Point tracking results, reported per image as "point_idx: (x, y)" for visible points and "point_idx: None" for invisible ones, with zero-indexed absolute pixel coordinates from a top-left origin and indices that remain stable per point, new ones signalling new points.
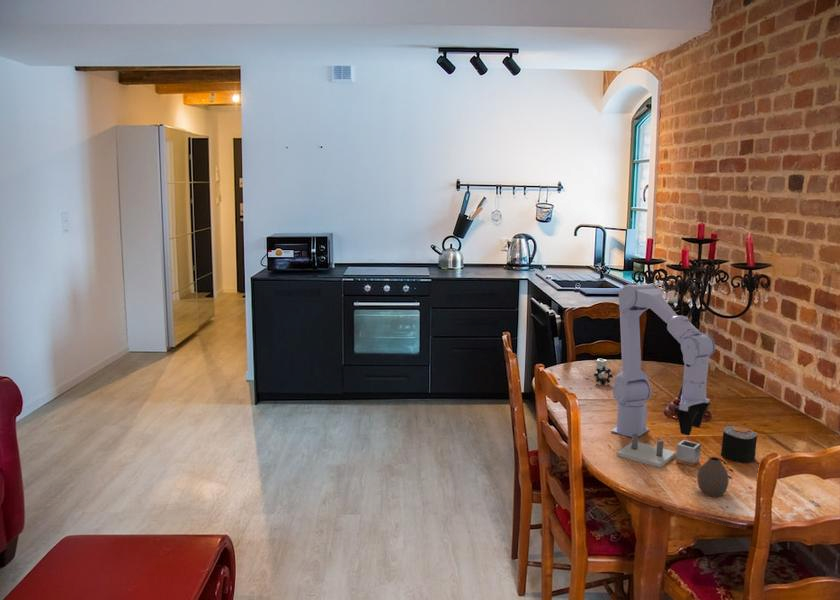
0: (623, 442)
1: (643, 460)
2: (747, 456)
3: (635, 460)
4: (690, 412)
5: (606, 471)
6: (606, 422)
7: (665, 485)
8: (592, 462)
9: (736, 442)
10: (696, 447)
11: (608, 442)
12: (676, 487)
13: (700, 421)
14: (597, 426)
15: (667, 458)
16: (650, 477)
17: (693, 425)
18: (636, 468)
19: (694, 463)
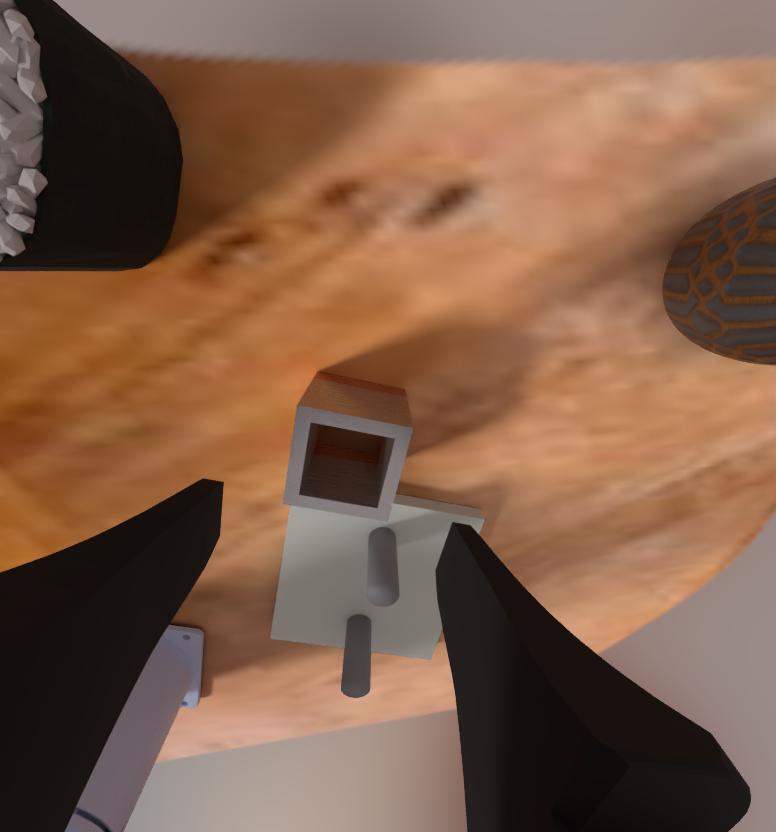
0: (277, 652)
1: None
2: (126, 65)
3: None
4: (726, 826)
5: (591, 643)
6: None
7: (665, 466)
8: None
9: (88, 136)
10: (380, 422)
11: (311, 686)
12: (675, 425)
13: (194, 511)
14: (172, 736)
15: (402, 506)
16: (598, 524)
17: (217, 526)
18: (524, 576)
19: (391, 391)
